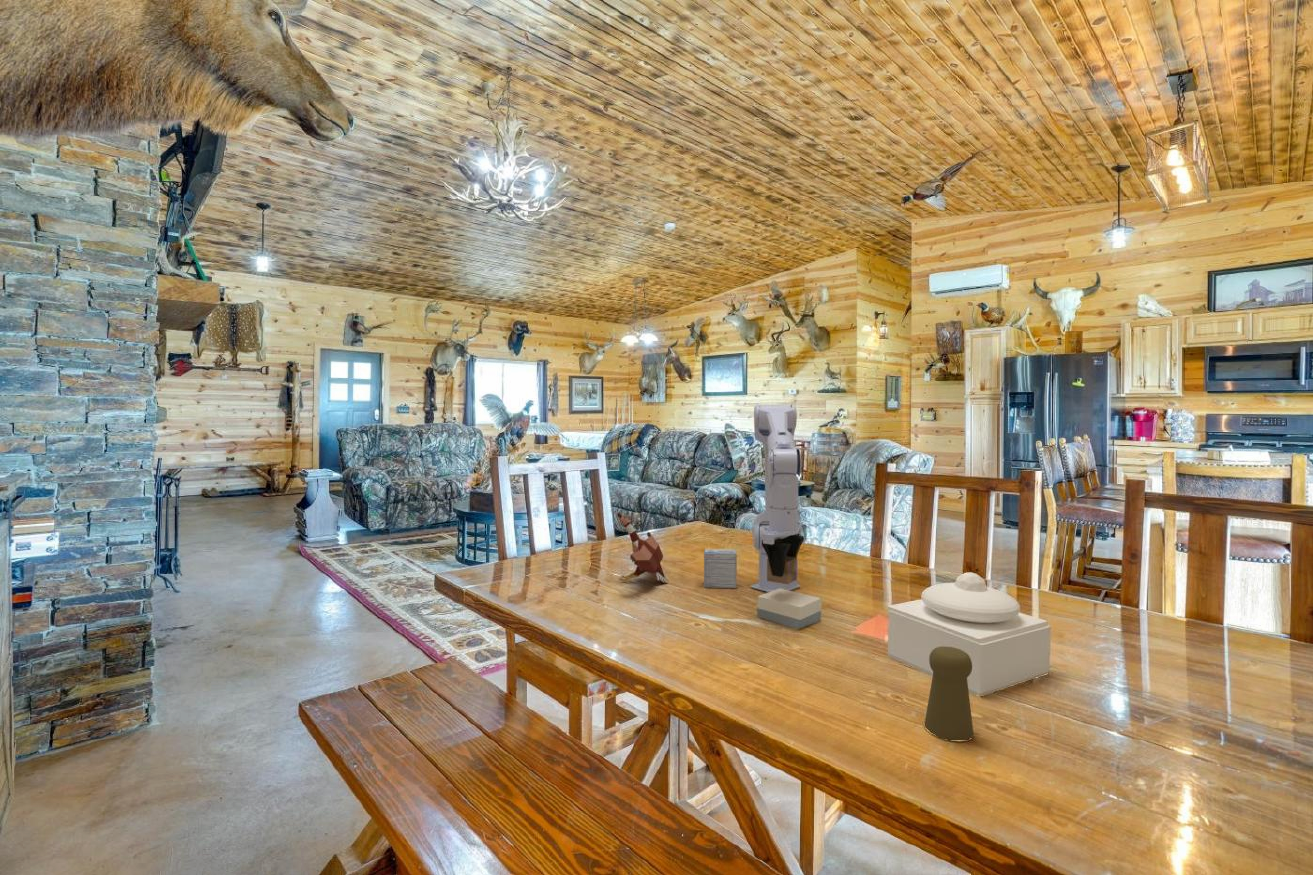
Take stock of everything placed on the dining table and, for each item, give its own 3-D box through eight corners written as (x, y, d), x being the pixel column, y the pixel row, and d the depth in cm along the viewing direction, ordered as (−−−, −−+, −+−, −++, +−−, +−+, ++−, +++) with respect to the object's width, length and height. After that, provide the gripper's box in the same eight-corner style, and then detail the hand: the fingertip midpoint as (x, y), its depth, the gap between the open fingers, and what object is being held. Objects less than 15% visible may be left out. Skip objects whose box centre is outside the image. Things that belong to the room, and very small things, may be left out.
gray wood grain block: (736, 583, 152) (736, 549, 152) (736, 589, 148) (737, 553, 147) (704, 582, 153) (704, 548, 153) (703, 588, 149) (703, 552, 148)
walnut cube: (776, 575, 130) (776, 554, 130) (796, 579, 128) (796, 557, 127) (767, 580, 127) (767, 558, 126) (787, 584, 124) (787, 562, 124)
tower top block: (779, 599, 133) (779, 588, 133) (821, 610, 126) (821, 598, 126) (757, 608, 127) (757, 596, 127) (800, 619, 120) (800, 607, 120)
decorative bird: (607, 552, 169) (628, 503, 168) (668, 581, 167) (690, 530, 166) (580, 581, 141) (605, 522, 140) (653, 616, 139) (679, 556, 138)
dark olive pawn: (915, 719, 86) (917, 642, 85) (957, 718, 86) (959, 640, 86) (939, 743, 80) (941, 659, 79) (983, 741, 80) (986, 658, 80)
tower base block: (780, 610, 134) (780, 598, 134) (820, 622, 126) (820, 610, 126) (757, 618, 128) (757, 606, 128) (797, 631, 121) (797, 619, 121)
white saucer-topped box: (980, 698, 93) (983, 594, 92) (885, 655, 109) (887, 566, 108) (1049, 675, 101) (1053, 579, 100) (952, 638, 117) (954, 555, 116)
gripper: (780, 501, 135) (779, 562, 135) (749, 509, 123) (748, 577, 124) (811, 504, 130) (810, 567, 131) (782, 513, 119) (781, 583, 119)
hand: (782, 573), depth 127 cm, fingers closed on walnut cube, 4 cm apart
